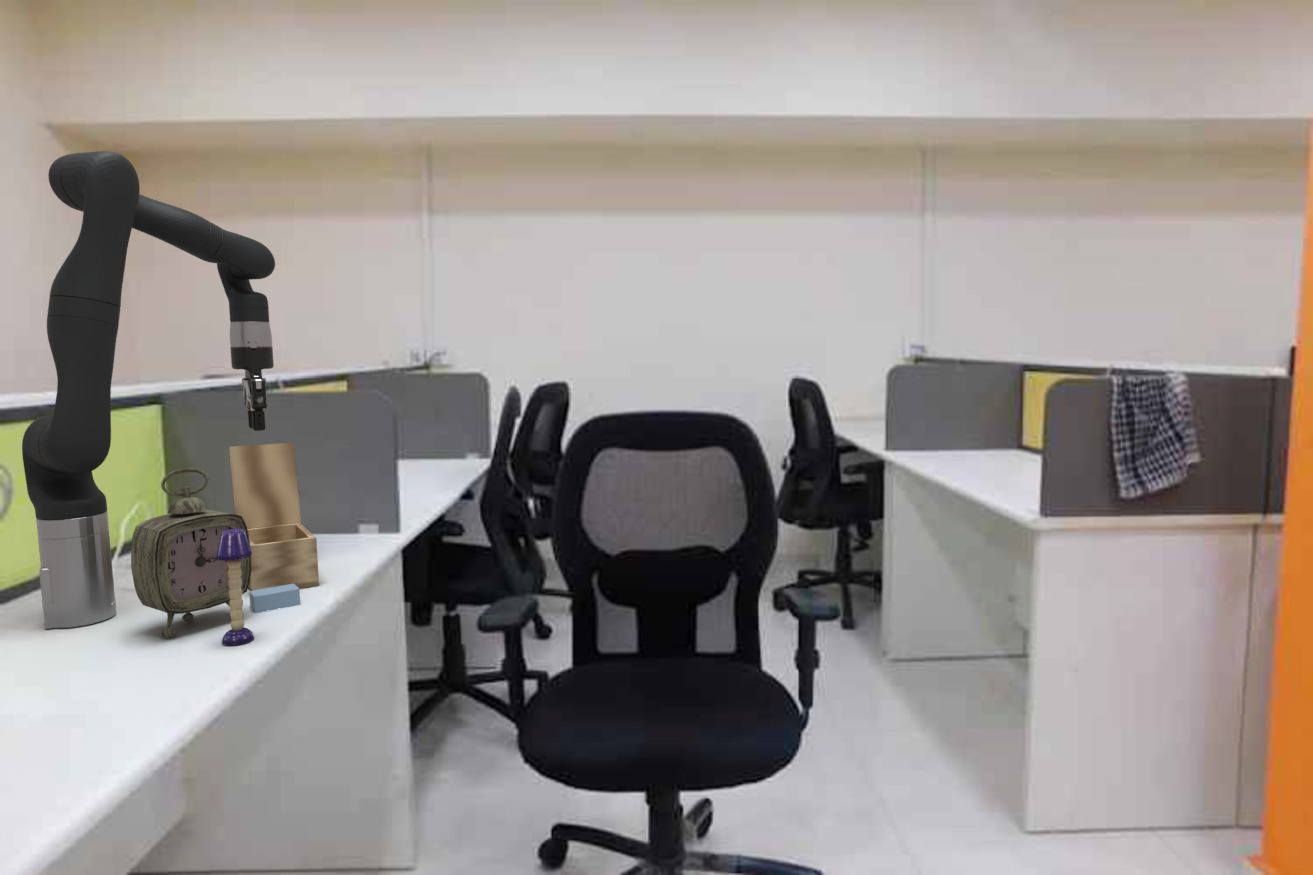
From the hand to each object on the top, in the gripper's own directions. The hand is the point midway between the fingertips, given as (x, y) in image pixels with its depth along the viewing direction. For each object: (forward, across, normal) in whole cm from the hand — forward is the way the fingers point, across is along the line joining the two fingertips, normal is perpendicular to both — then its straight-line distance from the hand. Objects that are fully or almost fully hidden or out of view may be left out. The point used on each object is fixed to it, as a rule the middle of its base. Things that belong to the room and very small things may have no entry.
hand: (257, 428), depth 160 cm
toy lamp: (+28, +48, -10) cm, 56 cm away
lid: (+11, +8, 0) cm, 13 cm away
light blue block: (+28, +33, -3) cm, 43 cm away
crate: (+27, +17, 0) cm, 32 cm away
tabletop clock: (+28, +36, -15) cm, 48 cm away
